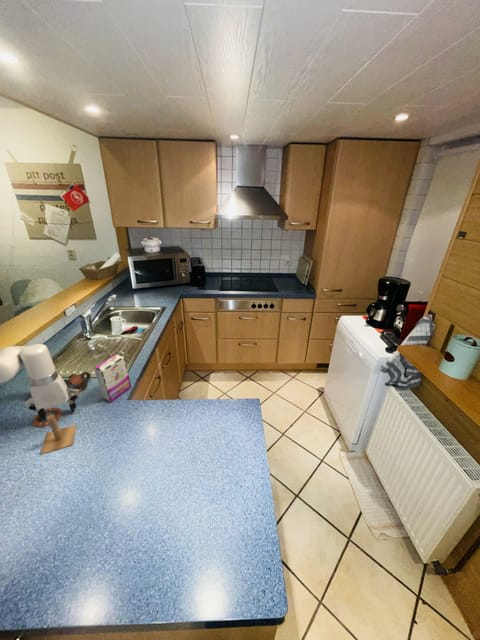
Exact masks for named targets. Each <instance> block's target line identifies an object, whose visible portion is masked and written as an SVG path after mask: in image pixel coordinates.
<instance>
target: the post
mask: <svg viewBox="0 0 480 640" xmlns="http://www.w3.org/2000/svg"><path fill="white" fill-rule="evenodd" d="M55 416H56V415H54V414H49V415H47V417H46V420H47V421H48V422H49V427H50V429H51V431H48V432H46V435H45V437H44V441H43V444H42V447H41V450H40V453H39V454H40V456H41V455H46V454H48V453H52V452H55V451H60V450H63V449H66V448H69V447H72V446H74V443H75V437H76V433H77V432H76V431H77V424H74V425H69V426H66V427H63V428H60V426H59V423H58V421H56V419H55Z"/></svg>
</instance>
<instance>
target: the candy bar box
mask: <svg viewBox="0 0 480 640" xmlns="http://www.w3.org/2000/svg"><path fill="white" fill-rule="evenodd" d="M93 370H94V373H95V375H96V379H97V382H98V385H99V389H100V392H101V396H102V398H103V399H105V400H106V402H109V403H112V402H114V401H115V400H117V399H118V398H119V397H120V396H122V395H123V394H124V393H125V392H127V391H128V390H130V389H131V388H132V384H131V379H130V374H129V371H128V366H127V362H126V358H125V356H124V355H121V354H115V355H113V356H111V357H109V358H108V359H106V360H105V361H103V362H101V363H100V364H98V365H96V366H95V367H93Z"/></svg>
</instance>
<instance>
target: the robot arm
mask: <svg viewBox="0 0 480 640" xmlns="http://www.w3.org/2000/svg"><path fill="white" fill-rule="evenodd" d="M24 366H25V367H24ZM22 367H24V369H25V368H26V369H25V370H26V373H27V375H28V377H26V378H25V382H26V383H30V385H29V390H30V395H31V397H30V398H28V399H27V400H26V401H24V403H23V406H24V407H26V408H27V409H28V410H30V411H34V413H36V414H37V415H39V417H41V418H40V420H41V421H44V420H45V419H46V416H47V414H46V412H45V410H46V409H48V408H52V407H54V406H59V405H62V404H65V403H68V406H69V409H70V411H71V412H72V413H74V412H75V410H76V408H77V403H76V400H77V399H78V397H79V394H80V393H79V391H80V390H79V388H71V387H70V388H68V387H67V385H66V383H65V382H64V380H65V379H63V377H62V376H61V375H60V374H58V372H57V369H56V367H55V363H54V361H53V358H52V355H51V353H50V350H49V348H48V346H47V345H46V344H44V343H35V344H31V345H14V346H12V345H11V346H6V347H2V348H1V349H0V384H4V383H7V382H9V381H11V380H13V378H14V377H15V376H16V375H17V373H18V372H19V370H20V369H21V368H22ZM71 394H74V395H71Z"/></svg>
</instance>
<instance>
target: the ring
mask: <svg viewBox="0 0 480 640" xmlns="http://www.w3.org/2000/svg"><path fill="white" fill-rule="evenodd" d="M44 410H45V412H46V415H47V414H51V413H55V415H54V416H55V419H56V421H57V422H59V420H60V419H61V418H62V416H63V413H64V411H63V410H62V409H61V408H60V407H48V408H45V409H44ZM40 420H41V417H39V415H38V414H36V415H35V416H34V417H33V420H32V426H33V427H34V428H40V429H41V428H47V427H50V425H49V422H48V420H47V421H40Z"/></svg>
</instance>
